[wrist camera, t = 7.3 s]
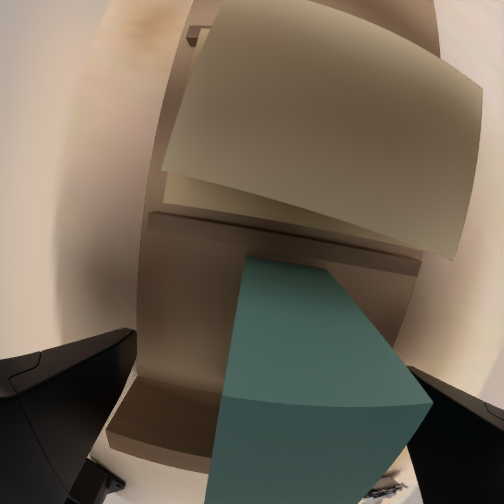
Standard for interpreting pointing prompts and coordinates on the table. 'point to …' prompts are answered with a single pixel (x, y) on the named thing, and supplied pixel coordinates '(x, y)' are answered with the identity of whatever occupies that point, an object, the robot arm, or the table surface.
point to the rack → (235, 273)
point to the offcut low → (253, 196)
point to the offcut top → (331, 120)
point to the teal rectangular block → (307, 394)
